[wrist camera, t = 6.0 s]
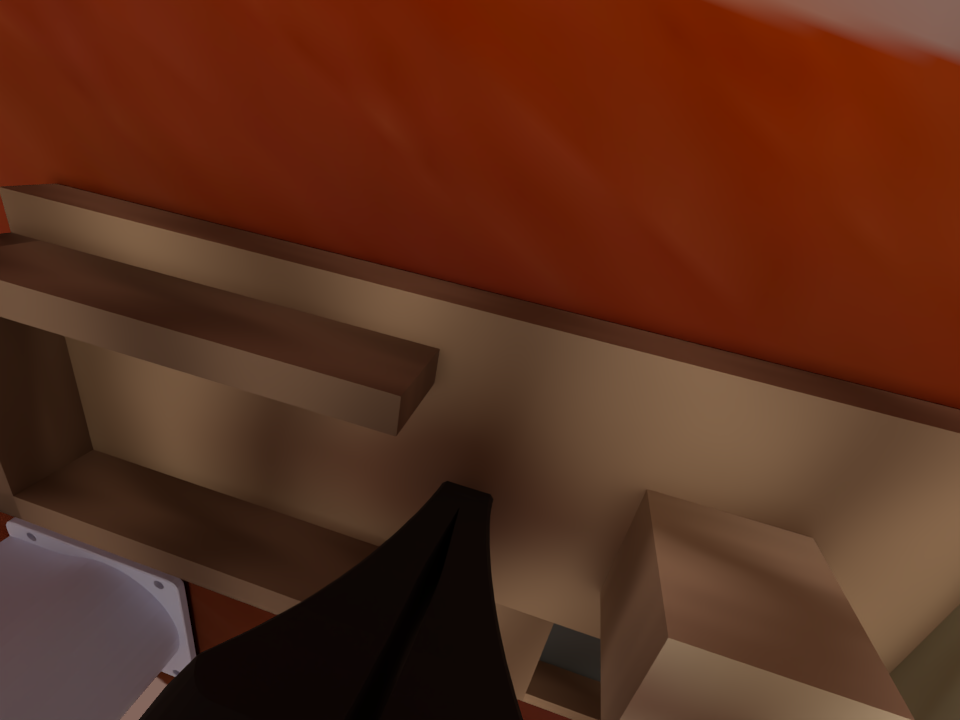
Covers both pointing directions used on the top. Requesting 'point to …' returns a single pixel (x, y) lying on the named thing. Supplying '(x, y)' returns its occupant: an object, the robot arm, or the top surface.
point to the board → (538, 443)
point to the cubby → (200, 352)
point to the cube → (731, 625)
